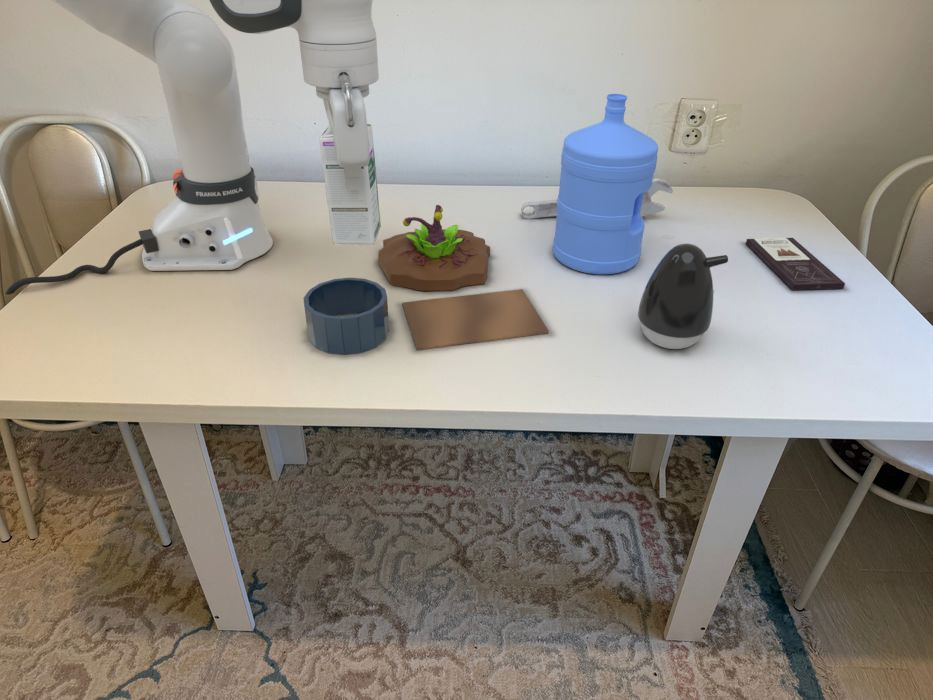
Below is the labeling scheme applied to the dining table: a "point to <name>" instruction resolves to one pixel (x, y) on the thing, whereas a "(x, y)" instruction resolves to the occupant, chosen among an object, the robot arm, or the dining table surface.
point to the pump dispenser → (679, 298)
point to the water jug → (603, 193)
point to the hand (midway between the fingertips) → (350, 178)
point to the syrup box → (350, 197)
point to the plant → (434, 257)
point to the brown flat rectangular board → (472, 319)
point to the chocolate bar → (794, 264)
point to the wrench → (647, 206)
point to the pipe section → (347, 330)
